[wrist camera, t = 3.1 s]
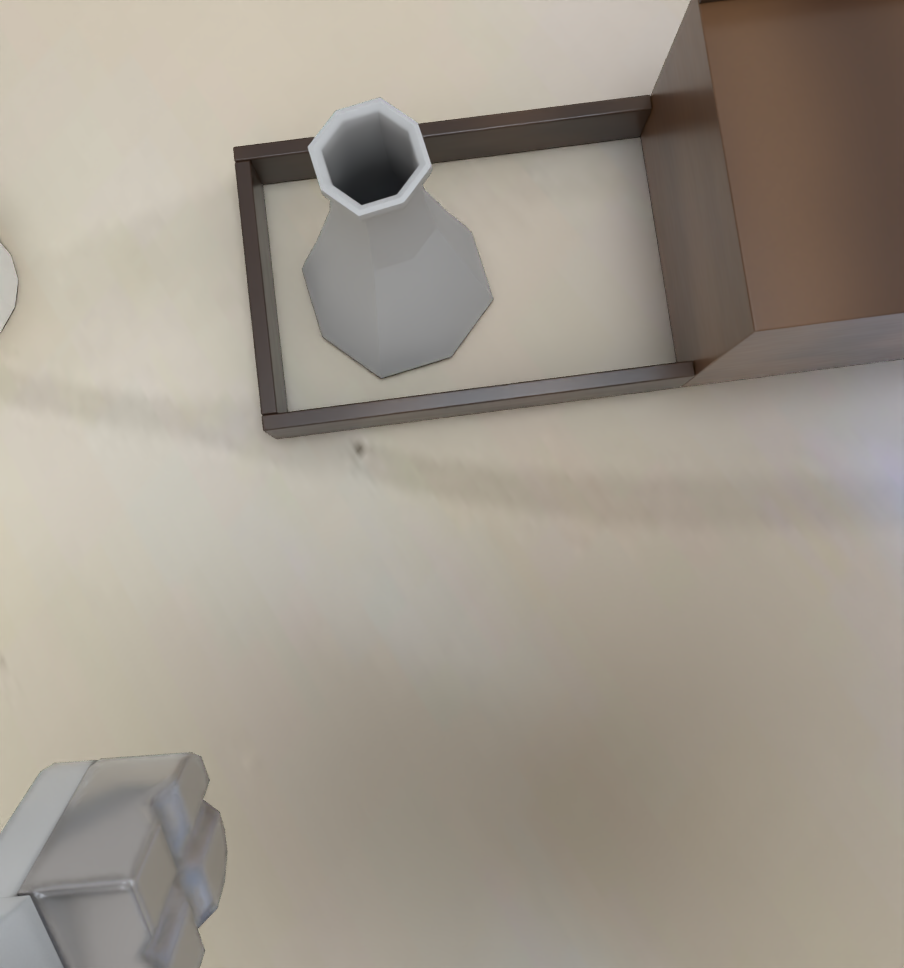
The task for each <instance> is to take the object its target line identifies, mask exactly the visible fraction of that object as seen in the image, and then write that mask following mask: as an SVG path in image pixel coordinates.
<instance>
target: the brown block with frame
mask: <svg viewBox="0 0 904 968" xmlns="http://www.w3.org/2000/svg"><path fill="white" fill-rule="evenodd" d="M418 125H419V128H420V131H421V134H422V137H423V140H424V143H425V146H426V150H427V153H428V156H429V159H430V162H431V163H435V162H443V161H451V160H459V159H467V158H475V157H482V156H490V155H498V154H506V153H514V152H522V151H530V150H538V149H546V148H554V147H562V146H570V145H578V144H586V143H594V142H602V141H609V140H617V139H625V138H633V137H639V136H641V140H642V147H643V153H644V159H645V165H646V172H647V178H648V184H649V191H650V197H651V203H652V209H653V216H654V222H655V228H656V234H657V241H658V247H659V253H660V260H661V266H662V272H663V278H664V285H665V291H666V297H667V303H668V310H669V316H670V322H671V328H672V335H673V341H674V347H675V354H676V360H677V362H675V363H668V364H660V365H652V366H644V367H636V368H628V369H621V370H613V371H605V372H597V373H589V374H581V375H574V376H566V377H558V378H550V379H542V380H534V381H527V382H519V383H511V384H503V385H495V386H487V387H480V388H472V389H464V390H456V391H448V392H440V393H433V394H425V395H417V396H409V397H401V398H394V399H386V400H378V401H370V402H362V403H354V404H347V405H339V406H331V407H323V408H315V409H307V410H300V411H292V412H288V410H287V401H286V392H285V383H284V374H283V365H282V355H281V346H280V337H279V328H278V319H277V310H276V301H275V291H274V282H273V273H272V264H271V255H270V246H269V237H268V228H267V218H266V209H265V200H264V191H263V185H262V184H268V183H276V182H284V181H292V180H300V179H308V178H316V177H317V176H316V173H315V170H314V166H313V163H312V160H311V157H310V154H309V150H308V146H309V144H310V143H311V142H312V141H313V139H314V138H315V137H310V138H302V139H294V140H286V141H278V142H270V143H262V144H254V145H246V146H238V147H234V148H233V151H234V161H235V170H236V180H237V189H238V198H239V208H240V217H241V227H242V236H243V246H244V255H245V264H246V274H247V283H248V293H249V302H250V312H251V321H252V330H253V340H254V349H255V359H256V368H257V378H258V387H259V396H260V406H261V414H262V415H263V416H262V425H263V430H264V431H265V432H266V433H268V434H269V435H271V436H272V437H274V438H276V439H280V438H288V437H296V436H304V435H312V434H319V433H327V432H335V431H343V430H351V429H359V428H366V427H374V426H382V425H390V424H398V423H405V422H413V421H421V420H429V419H437V418H445V417H452V416H460V415H468V414H476V413H484V412H491V411H499V410H507V409H515V408H523V407H531V406H538V405H546V404H554V403H562V402H570V401H577V400H585V399H593V398H601V397H609V396H617V395H624V394H632V393H640V392H648V391H656V390H663V389H671V388H679V387H687V386H695V385H703V384H711V383H719V382H726V381H734V380H742V379H750V378H758V377H765V376H773V375H781V374H789V373H797V372H805V371H812V370H820V369H828V368H836V367H844V366H851V365H859V364H867V363H875V362H883V361H891V360H898V359H904V0H691V1H690V3H689V6H688V8H687V10H686V13H685V15H684V17H683V20H682V22H681V25H680V27H679V29H678V32H677V34H676V37H675V39H674V41H673V44H672V46H671V48H670V51H669V53H668V56H667V58H666V60H665V63H664V65H663V67H662V70H661V72H660V75H659V77H658V79H657V82H656V84H655V86H654V89H653V91H652V94H651V96H650V95H644V96H636V97H628V98H620V99H612V100H604V101H596V102H588V103H580V104H572V105H564V106H556V107H548V108H540V109H532V110H525V111H517V112H509V113H501V114H493V115H485V116H477V117H469V118H461V119H453V120H445V121H437V122H429V123H421V124H418Z"/></svg>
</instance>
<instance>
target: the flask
mask: <svg viewBox="0 0 904 968" xmlns="http://www.w3.org/2000/svg"><path fill="white" fill-rule="evenodd" d="M308 150H309V154H310V157H311V160H312V163H313V166H314V170H315V173H316V176H317V179H318V183H319V186H320V189H321V192H322V194H323V195H324V196H325V197H326V198H327V199H329V200H330V211H329V214H328V216H327V218H326V221H325V223H324V225H323V228H322V230H321V232H320V235H319V237H318V239H317V241H316V243H315V245H314V247H313V248H312V250H311V252H310V254H309V256H308V258H307V259H306V261H305V263H304V266H303V268H302V271H303V274H304V278H305V281H306V284H307V288H308V291H309V294H310V297H311V301H312V304H313V307H314V311H315V314H316V317H317V320H318V324H319V327H320V330H321V334H322V337H324V338H325V339H327V340H328V341H329V342H331V343H332V344H334V345H335V346H336V347H338V348H339V349H341V350H342V351H343V352H345V353H346V354H348V355H349V356H350V357H352V358H353V359H355V360H356V361H358V362H359V363H360V364H362V365H363V366H365V367H366V368H367V369H369V370H370V371H372V372H373V373H374V374H376V375H377V376H379V377H380V378H384V377H387V376H390V375H394V374H397V373H400V372H403V371H407V370H410V369H413V368H416V367H419V366H423V365H426V364H429V363H432V362H436V361H439V360H442V359H445V358H449V357H451V356H452V355H453V354H454V352H455V351H456V349H457V348H458V347H459V345H460V344H461V343H462V341H463V340H464V339H465V337H466V336H467V334H468V333H469V332H470V330H471V329H472V328H473V326H474V325H475V324H476V322H477V321H478V319H479V318H480V317H481V315H482V314H483V313H484V311H485V310H486V309H487V307H488V306H489V304H490V303H491V302H492V300H493V296H492V292H491V289H490V286H489V283H488V280H487V277H486V274H485V271H484V268H483V265H482V262H481V259H480V256H479V253H478V250H477V247H476V244H475V241H474V238H473V235H472V232H471V231H470V230H469V229H468V228H467V227H466V226H465V225H463V224H462V223H461V222H460V221H458V220H457V219H456V218H455V217H453V216H452V215H451V214H450V213H448V212H447V211H446V210H445V209H444V208H443V207H442V206H441V205H440V204H439V203H438V202H437V201H436V200H435V199H434V198H433V197H432V196H431V195H430V194H429V193H428V192H427V191H426V190H425V189H424V187H423V183H424V182H425V181H426V179H427V178H428V177H429V176H430V174H431V172H432V165H431V162H430V159H429V156H428V153H427V150H426V146H425V143H424V140H423V137H422V134H421V131H420V128H419V125H418V123H417V122H416V121H414V120H413V119H411V118H410V117H408V116H407V115H406V114H404V113H403V112H401V111H400V110H398V109H397V108H395V107H394V106H392V105H391V104H389V103H388V102H386V101H385V100H384V99H382V98H381V97H379V98H376V99H372V100H369V101H366V102H362V103H359V104H356V105H352V106H349V107H346V108H343V109H339V110H336V111H335V112H334V113H333V115H332V116H331V117H330V118H329V120H328V121H327V122H326V124H325V125H324V126H323V128H322V129H321V130H320V131H319V133H318V134H317V135H316V137H315V138H314V139H313V141H312V142H311V143H310V144H309V146H308Z"/></svg>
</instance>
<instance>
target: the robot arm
mask: <svg viewBox="0 0 904 968" xmlns="http://www.w3.org/2000/svg"><path fill="white" fill-rule="evenodd" d="M209 781H210V779H209V776H208V774H207V771H206V768H205V765H204V763H203V760H202V757H201V756H199V755H197V754H195V753H192V752H188V753H174V754H160V755H146V756H132V757H117V758H103V759H100V760H89V761H75V762H60V763H53V764H52V765H50V766H49V767H47V768H45V769H44V770H42V771H41V772H40V773H39V774H38V776H37V777H36V779H35V780H34V782H33V784H32V785H31V787H30V788H29V790H28V791H27V793H26V794H25V796H24V797H23V799H22V800H21V802H20V803H19V805H18V807H17V808H16V810H15V811H14V813H13V814H12V816H11V817H10V819H9V820H8V822H7V823H6V825H5V827H4V828H3V830H2V831H1V833H0V968H200V966H201V963H202V959H203V956H204V953H205V949H204V946H203V943H202V940H201V937H200V934H199V931H198V928H199V927H200V926H201V925H202V924H203V923H204V922H205V921H206V920H207V919H208V918H209V917H210V916H211V914H212V913H213V912H214V911H215V910H216V909H217V908H218V905H219V901H220V897H221V894H222V890H223V886H224V883H225V873H226V862H227V844H226V835H225V828H224V825H223V821H222V818H221V815H220V812H219V811H218V810H216V809H215V808H214V807H212V806H211V805H210V804H208V803H207V802H206V801H205V800H203V798H204V795H205V793H206V790H207V787H208V784H209Z"/></svg>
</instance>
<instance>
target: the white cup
mask: <svg viewBox="0 0 904 968" xmlns="http://www.w3.org/2000/svg"><path fill="white" fill-rule="evenodd" d="M17 286H18V278H17V274H16V271H15V267H14V264H13V260H12V257H11V255H10V253H9V252H8V251H7V250H6V249H5V247H4V246H3V245H2V244H1V243H0V332H1V331H2V329H3V327H4V325H5V324H6V322H7V320H8V318H9V316H10V315H11V313H12V311H13V309H14V308H15V302H16V294H17Z"/></svg>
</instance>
